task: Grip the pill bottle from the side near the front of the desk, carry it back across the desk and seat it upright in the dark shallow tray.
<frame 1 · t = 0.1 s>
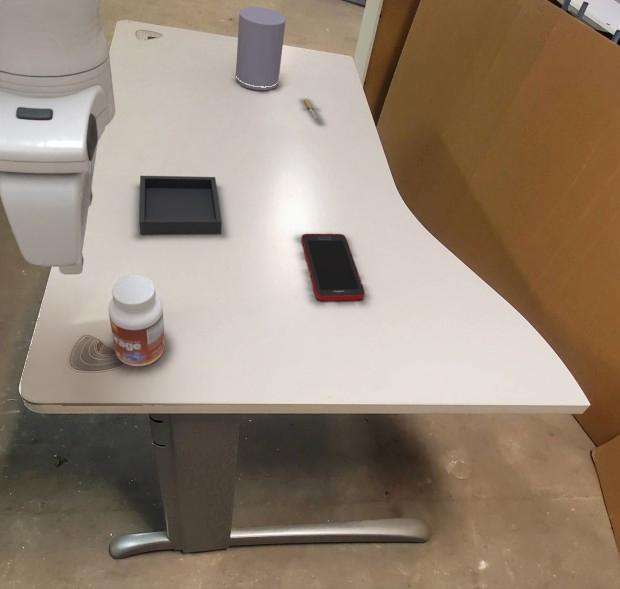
hand: (78, 233, 48), 22 cm above the table, tool pointing down, fingers open, 8 cm apart
dagger: (312, 114, 121), on the table
container: (256, 82, 127), on the table
dark shallow tray: (180, 210, 88), on the table
pill bottle: (140, 349, 67), on the table
cell phone: (330, 268, 84), on the table
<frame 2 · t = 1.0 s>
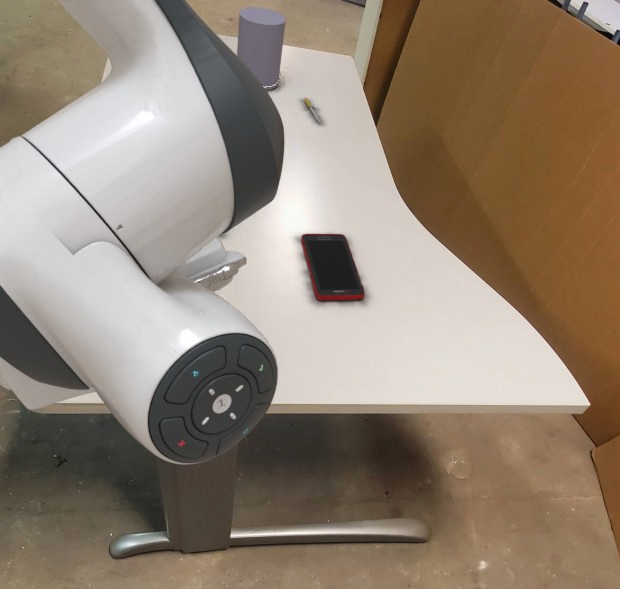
hand: (92, 278, 49), 19 cm above the table, tool tilted 60°, fingers open, 8 cm apart
nothing on the table moved.
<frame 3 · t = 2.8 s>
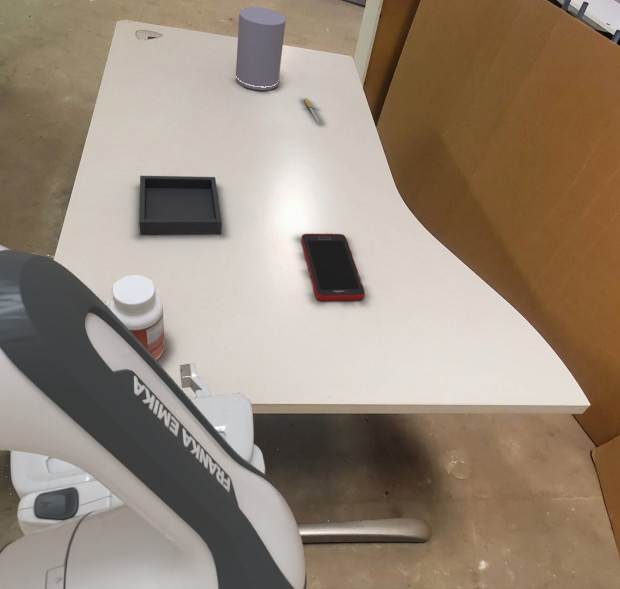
hand: (138, 373, 51), 12 cm above the table, tool horizontal, fingers open, 8 cm apart
nothing on the table moved.
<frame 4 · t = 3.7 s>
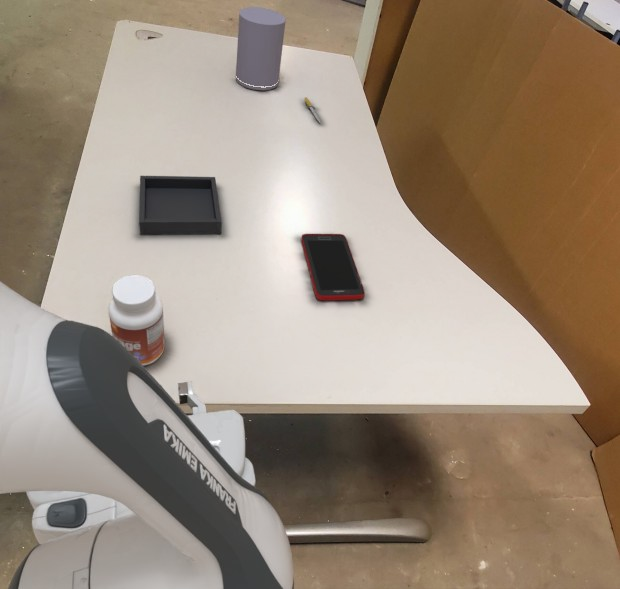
hand: (139, 390, 56), 7 cm above the table, tool horizontal, fingers open, 8 cm apart
nothing on the table moved.
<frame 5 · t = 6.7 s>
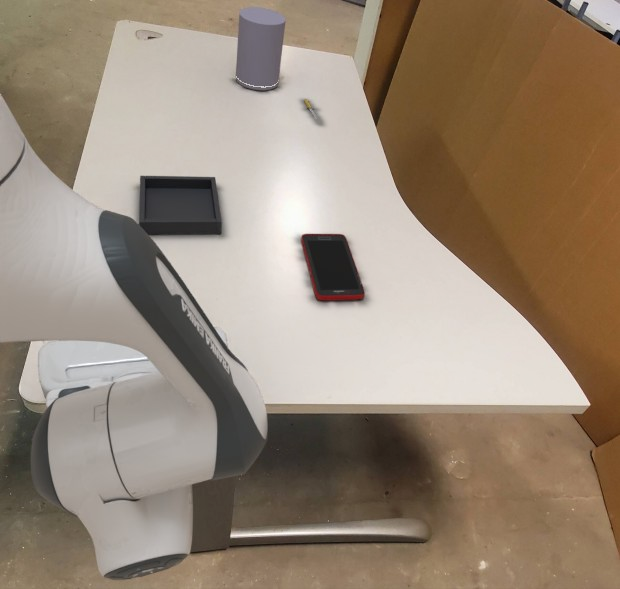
hand: (136, 312, 64), 6 cm above the table, tool horizontal, fingers closed on pill bottle, 6 cm apart
pill bottle: (140, 349, 67), on the table, touching gripper
everything else where it was.
when the fingers open (7 cm above the table, at t = 16.3 s): pill bottle stays where it is, resting on dark shallow tray.
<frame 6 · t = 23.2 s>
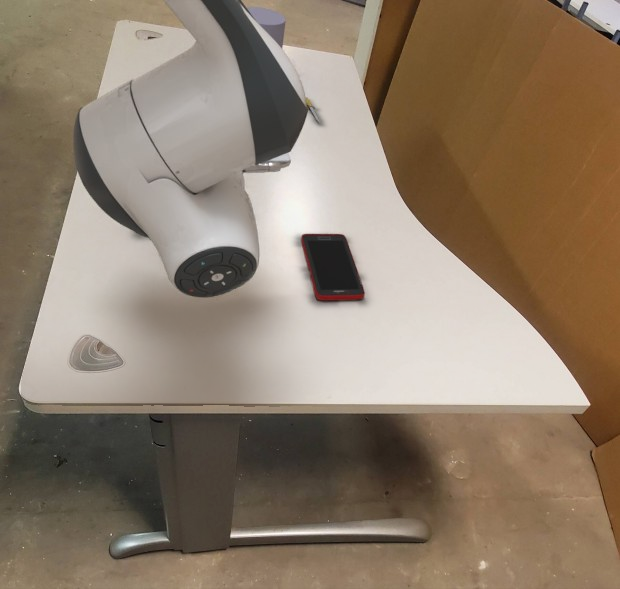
hand: (184, 105, 63), 25 cm above the table, tool horizontal, fingers open, 8 cm apart
pill bottle: (181, 209, 88), resting on dark shallow tray
everything else where it was.
at the end: pill bottle 0.2 cm off-centre in the dark shallow tray, point 0.4 cm above the dark shallow tray's base; pill bottle tilted 0°; the gripper is holding nothing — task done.
